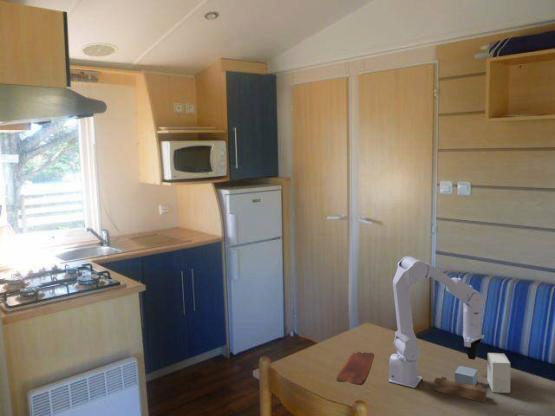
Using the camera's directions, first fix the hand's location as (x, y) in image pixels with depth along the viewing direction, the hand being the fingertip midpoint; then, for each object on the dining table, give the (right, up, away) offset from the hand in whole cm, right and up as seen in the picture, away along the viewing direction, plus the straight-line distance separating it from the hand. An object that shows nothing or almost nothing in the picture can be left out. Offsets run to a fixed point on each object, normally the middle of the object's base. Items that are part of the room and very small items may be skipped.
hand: (471, 358), depth 176 cm
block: (-4, -7, -6) cm, 10 cm away
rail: (-9, -8, -14) cm, 18 cm away
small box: (+5, -7, -10) cm, 13 cm away
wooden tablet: (-39, -7, +10) cm, 41 cm away
